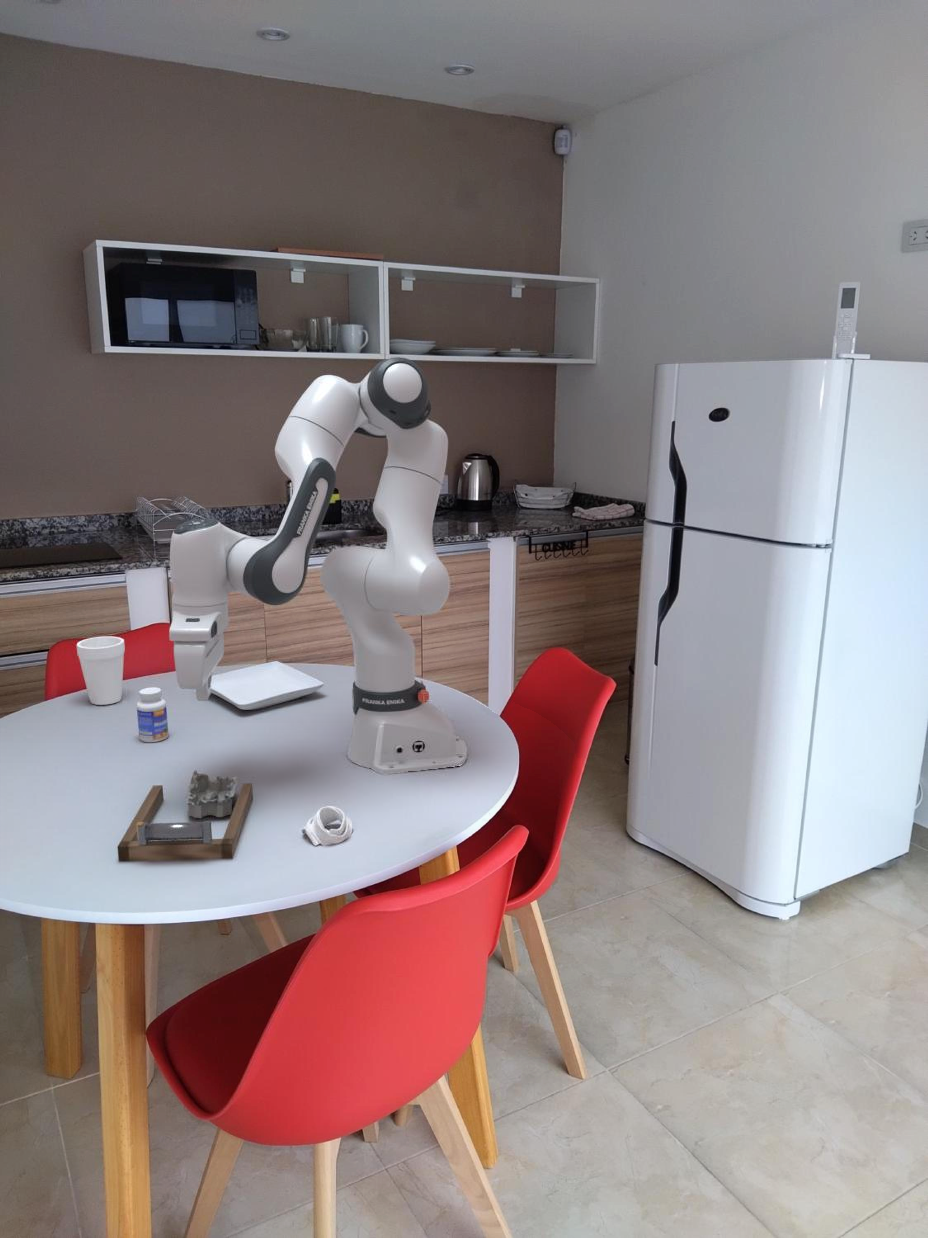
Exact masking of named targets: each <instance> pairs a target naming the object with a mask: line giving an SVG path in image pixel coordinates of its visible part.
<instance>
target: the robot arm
mask: <svg viewBox="0 0 928 1238" xmlns="http://www.w3.org/2000/svg"><path fill="white" fill-rule="evenodd" d="M431 413H432V404H431V401H430V396H429V387H428V381H427V379H426V375H425V374H424V371H423V370H422V369H421V367H420V366H419V365H418V364H417V363H416V362H414V361H413V360H411V359H409V358H405V357H400V356H397V357H396V356H395V357H389V358H386V359H383V360H382V361H380V362H379V363H377V364H376V365H375V366H374V367H373V368H372V369H371V370H370V371H369V372H368V374H367V375H366V376H364V378H363V379H362V380H361V381H360V382H357V383H354V382H349V381H348V380H346V379H345V378H342V377H340V376H338V375H333V374H325V375H321V376H319V377H317V378H316V379H314V380H313V382H311V384H310V385H309V386H308V387H307V389H306V390H305V391H304V392H303V394H301V396H300V398H299V399H298V400H297V402H296V404H295V405H294V406H293V408H292V409H291V411H290V413H289V415H288V416H287V418H286V420H285V422H284V424H283V425H282V428H281V430H280V431H279V433H278V436H277V439H276V441H275V442H276V443H275V446H274V454H275V459H276V461H277V463H278V466H279V468H280V470H281V471H282V472H283V474H284V475H286V477H288V478H289V479H290V481H291V483H292V493H291V494H292V496H291V498H290V501H289V503H288V506H287V507H286V510H285V513H284V516H283V518H282V521H281V523H280V525H279V526H278V527H279V528H278V530H277V532H276V534H275V535H274V536H273V537H272V538H270V539H268V540H264V539H260V538H258V537H255V536H251V535H246V534H244V533H240V532H237V531H235V530H233V529H231V528H229V527H227V526H226V525H224V524H222V523H221V522H220V520H217V519H216V518H215V519H214V518H208V517H207V518H206V517H205V518H196V519H190V520H187V521H184V522H183V523H180V524H179V525H177V526H176V527H175V528H174V530H173V531H172V534H171V537H170V538H171V539H170V546H169V573H170V578H171V581H172V585H173V594H172V597H171V611H172V612H171V619H172V620H171V624H170V626H169V630H168V631H169V633H168V634H169V635H168V636H169V641H171V642H173V659H174V667H175V674H176V681H177V684H178V687H179V688H180V689H181V690H182V689H183V690H195V691H196V692H195V693H196V700H197V701H200V702H206V701H208V699H209V698H210V696H211V695H212V693H211V681H212V676H213V675H214V674H213V671H214V670H215V669H216V667H217V666H218V665H219V662H221V660H222V659H223V657H224V654H225V642H224V640H225V639H224V632H225V631H226V630H228V628H229V626H230V625H229V602H228V597H229V596H228V595H229V594H230V593H231V592H238V593H240V594H242V595H246V596H250V597H252V598H253V599H256V600H258V601H259V602H261V603H264V604H266V605H269V606H282V605H284V604H287V603H289V602H291V601H292V600H293V599H295V597H296V596H298V594H299V593H300V592H301V591H302V589H303V587H304V585H305V582H306V579H307V574H308V567H309V562H310V557H311V554H312V553H311V552H312V550H313V547H314V545H315V542H316V539H317V537H318V534H319V531H320V529H321V526H322V524H323V522H324V520H325V516H326V514H327V511H328V508H329V506H330V503H331V500H332V498H333V494H334V490H335V487H336V482H337V481H336V480H337V475H336V474H337V473H336V470H337V466H338V464H339V462H340V461H339V460H340V459H341V456H342V455H343V452H344V450H345V449H346V446H347V444H348V442H349V440H350V439H351V437H352V435H353V434H354V433H355V434H360V435H363V436H365V437H368V438H373V439H385V438H386V439H387V455H386V459H385V462H384V465H383V469H382V472H381V476H380V479H379V481H378V486H377V489H376V493H375V497H374V500H373V504H372V512H373V515H374V518H375V519H376V521H377V522H378V523H379V524H380V525H381V526H382V527H383V528H384V529H385V530H386V546H385V548H384V549H383V548H378V547H377V548H376V547H371V546H369V547H368V546H361V545H353V546H352V545H351V546H344V547H337V548H334V549H333V550H331V551H330V552H329V553H328V554H327V555H326V556H325V558H324V560H323V562H322V564H321V567H320V568H321V569H320V583H321V586H322V589H323V591H324V593H325V594H326V595H327V596H328V597H329V598H330V599H331V601H333V602H334V603H335V604H336V606H337V607H338V610H339V611H340V613H341V615H342V617H343V619H344V621H345V623H346V626H347V629H348V631H349V634H350V638H351V641H352V643H351V644H352V649H353V650H352V651H353V661H354V662H353V663H354V664H353V665H354V681H353V683H352V688H351V700H352V701H351V702H352V703H351V704H352V705H351V707H352V712H353V715H354V716H353V726H352V731H351V733H352V734H351V739H350V741H349V746H348V747H349V748H348V750H347V754H346V755H347V758H348V759H349V760H350V762H352V763H354V764H355V765H358V766H360V767H363V768H367V769H370V768H371V769H370V770H373V771H375V773H377V772H378V773H377V774H379V773H381V774H380V775H383V774H388V775H391V774H390V773H398V774H401V773H400V772H407V773H409V772H408V771H417V772H422V771H421V770H426V771H428V770H427V769H435V768H445V769H447V768H446V767H453V766H459V765H461V764H463V763H464V762H465V760H466V759H467V760H468V756H467V754H468V747H467V744H466V742H465V740H464V739H463V738H462V737H460V736H458V735H457V734H456V731H455V728H454V727H455V726H454V724H453V722H452V720H451V718H450V717H449V715H448V714H447V713H446V712H444V711H442V710H441V709H439V708H438V707H436V705H433V704H432V703H430V702H429V700H430V693H429V691H428V690H426V689H427V688H426V685H425V684H424V682H423V680H420V681H419V680H416V647H415V642H414V640H413V638H412V636H411V635H410V634H409V633H408V632H407V631H406V630H405V629H404V628H403V627H402V626H401V625H400V624H399V622H398V620H397V619H396V616H395V614H398V615H403V616H413V617H414V616H427V615H429V616H430V615H435V614H436V613H438V612H439V611H440V610H441V609H442V608H444V607H443V606H444V605H445V604H446V602H447V600H448V599H449V595H450V590H451V579H450V575H449V572H448V570H447V568H446V566H445V565H444V564H443V563H442V561H441V560H440V558H439V556H438V554H437V551H436V549H435V545H434V539H433V538H434V537H433V526H434V525H433V524H434V519H435V514H436V509H437V506H438V501H439V496H440V493H441V489H442V485H443V481H444V477H445V473H446V467H447V461H448V452H449V451H448V449H449V437H448V434H447V433H446V431H445V429H443V427H441V426H440V425H439V424H438V423H436V422H435V421H432V420H430V419H428V418H429V417H430V416H431ZM467 760H466V761H467ZM465 763H466V762H465ZM465 763H464V764H465ZM464 764H463V765H464Z"/></svg>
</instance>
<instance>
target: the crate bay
mask: <svg viewBox="0 0 928 1238" xmlns="http://www.w3.org/2000/svg"><path fill="white" fill-rule="evenodd" d="M163 787H164V786H163V784H162V785H161V784H160V785H158V784H157V785H156V784H155V785H152V787H151V788H150V790H149V791H148V794H147V795H146V797H145V798H144V800H143V802H142V804H141V805H140V807H139V809H138V811H137V812H136V814H135V816H134V818H133V819H132V821H131V823H130V824H129V826H128V828H127V830H126V831H125V833H124V834H123V836H122V838H121V839H120V841H119V844H118V845H117V847H116V848H117V859H118V863H119V862H147V861H148V862H151V861H153V862H154V861H155V862H157V861H186V860H187V861H190V860H191V861H192V860H193V861H194V860H230V859H231V860H232V859H233V858H234V855H235V852H236V850H237V847H238V843H239V841H240V837H241V835H242V832H243V829H244V826H245V823H246V820H247V817H248V814H249V812H250V808H251V805H252V802H253V799H254V793H253V791H254V790H253V782H248V783H247V782H243V783H242V785H241V788H240V790H239V793H238V796H237V799H236V801H235V804H234V807H233V808H232V814H231V815H230V818H229V819H228V820H229V821H228V824H227V827H226V829H225V832H224V835H223V837H222V838H212V841H211V844H203V839H188V840H153V841H149V842H148V843H147V845H146V846H139V840H138V837H137V826H136V825H137V823H138V822H144V823H145V822H147V823H152V822H153V820H154V819H155V816H156V814H157V813H158V812H159V809H160V807H161V806H162V804H163V803H164V801H165V799H164V798H165V797H164V790H163V789H164V788H163Z"/></svg>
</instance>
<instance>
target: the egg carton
mask: <svg viewBox="0 0 928 1238" xmlns="http://www.w3.org/2000/svg"><path fill="white" fill-rule="evenodd" d="M215 778H216V779H212V780H211V779H210V778H209V776H208V774H207V773H200V772H199V773H198V771H197V770H194V771H193V772H192V775H191V778H190V779H191V780H190V783H189V786H188V789H187V792H186V795H185V796H186V805H187V808H188V810H187V816H190V817H193V818H196V819H198V818H199V819H202V818H203V817H206V816H212V817H213V816H215V817H216V818H223V817H225V816H231V815H232V812H233V804H234V797H235V793H236V789H237V786H238V779H239V778H238V777H237V776H234V777H231V776H228V775H227V776H226V777H221V776H220V775H217V776H216V777H215Z"/></svg>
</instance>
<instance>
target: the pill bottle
mask: <svg viewBox="0 0 928 1238" xmlns="http://www.w3.org/2000/svg"><path fill="white" fill-rule="evenodd" d="M138 694H139V695H138V696H139V699H140V700H139V701H138V702H137V704H136V714H137V717H136V718H137V725H138V738H139V739H140V740H141V742H145V743H156V742H157V743H158V742H161V741H164V740H166V739H167V738H168V737H169V726H168V724H169V722H168V711H167V702H166V700H165V699H163V698H162V689H161V688H159V687H156V686H155V687H146V688H143V689H141V690H139V691H138Z"/></svg>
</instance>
